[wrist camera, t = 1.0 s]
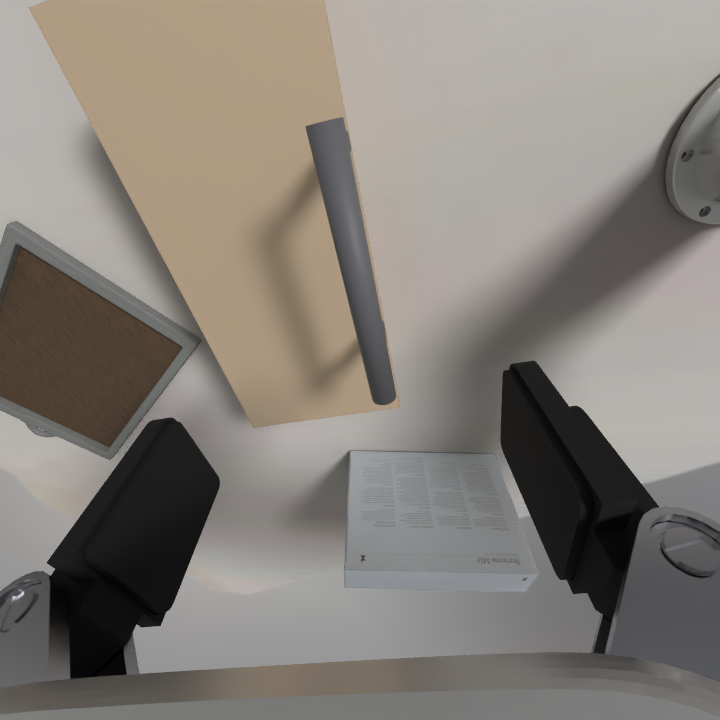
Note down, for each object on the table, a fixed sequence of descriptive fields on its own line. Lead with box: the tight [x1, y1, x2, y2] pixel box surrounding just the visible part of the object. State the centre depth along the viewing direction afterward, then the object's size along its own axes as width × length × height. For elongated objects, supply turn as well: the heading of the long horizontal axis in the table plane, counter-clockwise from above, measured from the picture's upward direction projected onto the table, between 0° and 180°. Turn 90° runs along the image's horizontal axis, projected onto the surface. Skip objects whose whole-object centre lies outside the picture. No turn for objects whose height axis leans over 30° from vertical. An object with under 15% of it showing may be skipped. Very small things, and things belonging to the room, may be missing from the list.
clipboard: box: [0, 221, 201, 460], centre depth 42 cm, size 19×2×30 cm
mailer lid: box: [29, 0, 400, 428], centre depth 22 cm, size 15×31×9 cm, turn 12°
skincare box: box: [344, 451, 539, 592], centre depth 44 cm, size 21×6×16 cm, turn 89°
